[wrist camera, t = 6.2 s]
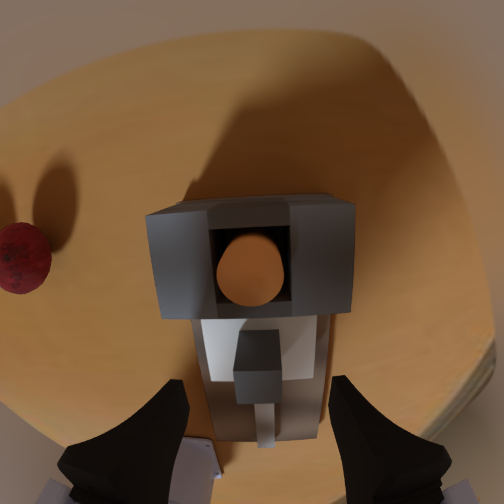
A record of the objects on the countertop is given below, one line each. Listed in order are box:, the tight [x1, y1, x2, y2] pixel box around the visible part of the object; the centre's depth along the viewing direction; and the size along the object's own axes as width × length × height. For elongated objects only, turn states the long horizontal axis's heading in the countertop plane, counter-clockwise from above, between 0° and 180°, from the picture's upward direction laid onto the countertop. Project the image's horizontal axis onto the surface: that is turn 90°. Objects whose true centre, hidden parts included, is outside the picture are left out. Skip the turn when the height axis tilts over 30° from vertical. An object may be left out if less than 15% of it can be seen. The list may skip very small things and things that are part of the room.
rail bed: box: [145, 193, 355, 448], centre depth 18 cm, size 23×10×8 cm, turn 3°
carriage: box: [201, 315, 317, 404], centre depth 16 cm, size 6×7×6 cm
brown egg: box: [217, 227, 284, 307], centre depth 13 cm, size 3×3×4 cm
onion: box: [0, 222, 52, 294], centre depth 17 cm, size 6×6×8 cm
